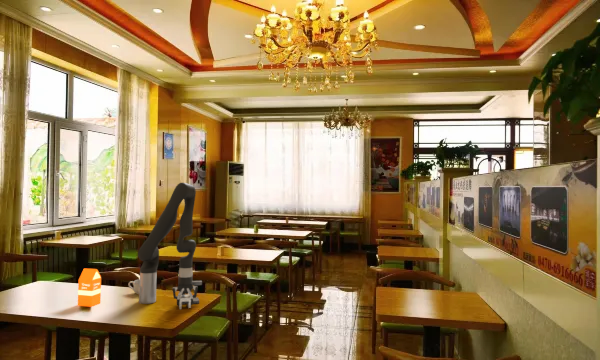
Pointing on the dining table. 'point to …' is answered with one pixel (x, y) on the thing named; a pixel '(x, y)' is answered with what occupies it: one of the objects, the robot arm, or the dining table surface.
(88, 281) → the orange juice
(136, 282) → the teacup
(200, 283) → the stand
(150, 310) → the dining table surface
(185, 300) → the white rounded block
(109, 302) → the dining table surface
